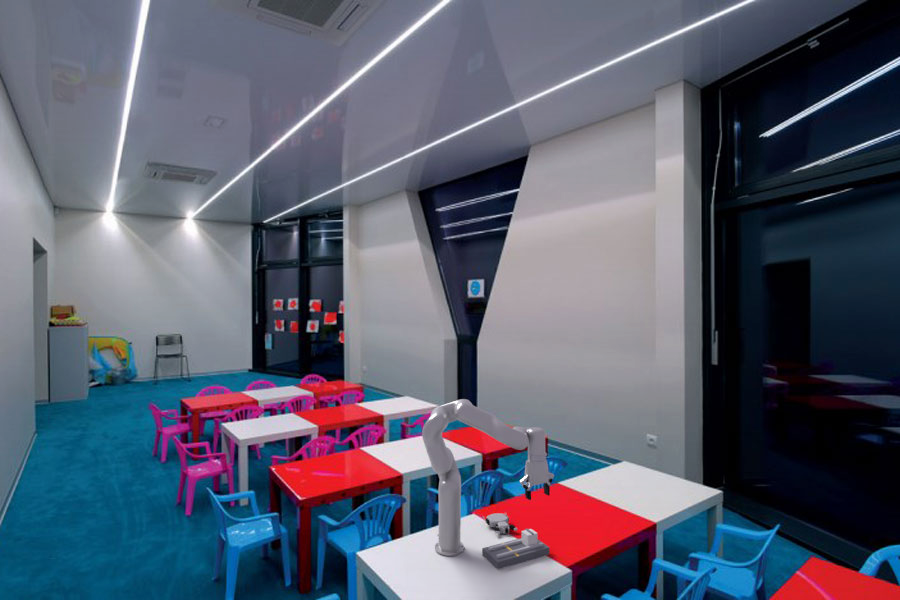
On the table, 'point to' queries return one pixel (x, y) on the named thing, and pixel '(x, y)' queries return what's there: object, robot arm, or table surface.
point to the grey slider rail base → (513, 553)
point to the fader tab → (529, 537)
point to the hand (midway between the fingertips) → (537, 496)
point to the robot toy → (499, 523)
